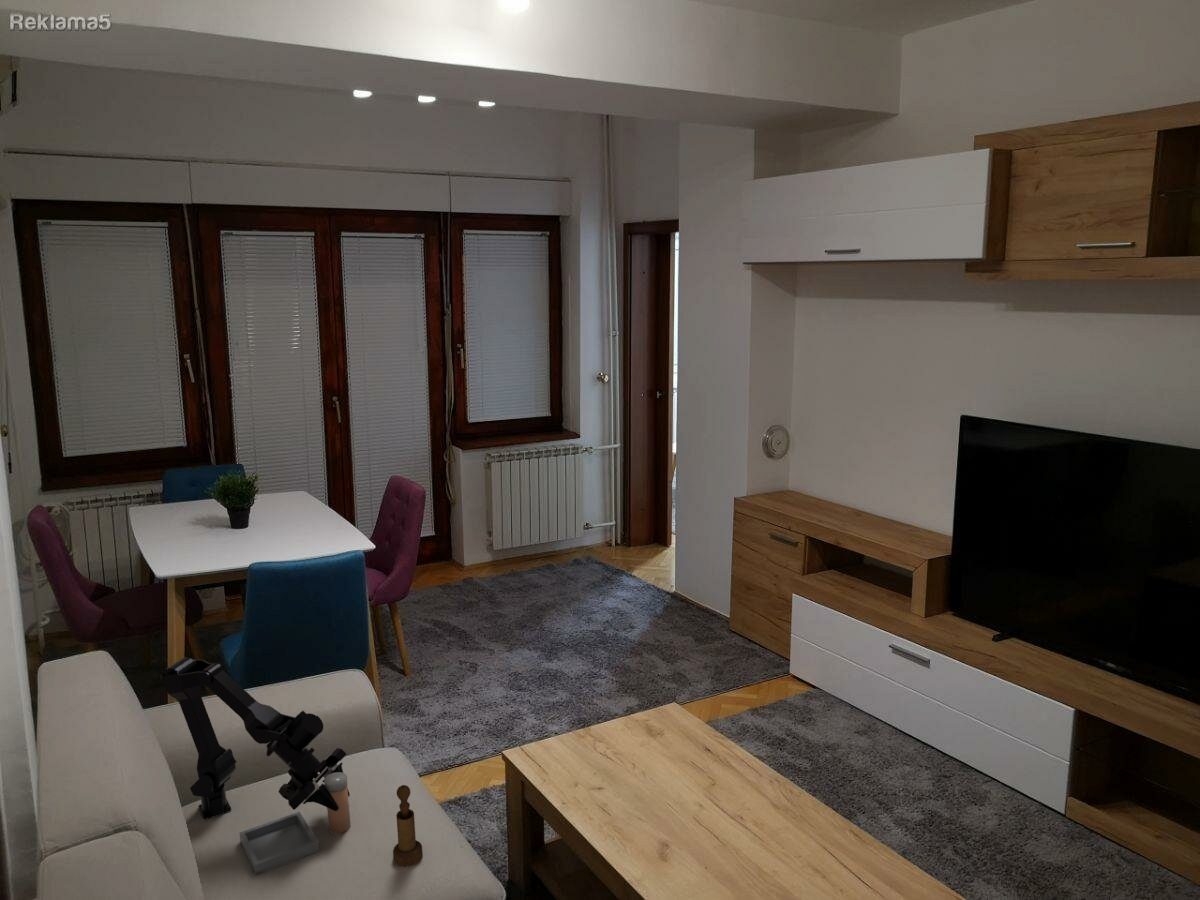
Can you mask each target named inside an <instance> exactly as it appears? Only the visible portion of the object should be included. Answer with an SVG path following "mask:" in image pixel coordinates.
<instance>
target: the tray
mask: <svg viewBox="0 0 1200 900" xmlns="http://www.w3.org/2000/svg"><path fill="white" fill-rule="evenodd" d="M238 833H239V840H240V844H241V846H242V848H243V851H244V850H245V851H244V853H245V855H246V857H247V859H248V861H249V863H250V866H251V867H252V870H253V872H254V874H255V875H259V874H262V873H265V872H268V871H270V870H273V869H275V868H279V867H281V866H283V865H286V864H288V863H291V862H294V861H296V860H298V859H299V860H300V859H301V858H304V857H307V856H310V855H312V854H314V853H317V852H319V842H318V839H317V838H316V836H315V835H314V833H313V831H312V829H311V828H310V826H309V825H308V823H307V822H306V820H305V819H304V816H303V815H302V812H300V811H297V812H294V813H291V814H289V815H286V816H282V817H279V818H277V819H275V820H272V821H268V822H266V823H263V824H259V825H258V826H254V827H251V828H248V829H246V830H242V831H240V832H238Z"/></svg>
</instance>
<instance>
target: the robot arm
mask: <svg viewBox="0 0 1200 900" xmlns="http://www.w3.org/2000/svg"><path fill="white" fill-rule="evenodd" d="M160 680H161V683H162V685H163V686H164V689H165V690H166V692H167V694H168V695H169V696H170V697H171V698H174V700H176V701H178V703H179V707H180V709H181V712H182V714H183V716H184V717H183V718H184V719H185V720H184V721H185V722H186V725H187V727H188V728H187V729H189V730H188V731H189V733H190V736H191V738H192V741H193V743H194V745H195V746H194V747H195V749H196V751H197V755H198V756H197V763H196V772H197V777H198V779H197V780H196V781H195V782H194V783H193V784H192V785H191V786H190V787H189V789H190V792H191V794H192V795H193V796H194V797H195V796H196V797H200V803H201V804H198V806H197V807H198V809H199V812H200V814H201V817H202V819H204V820H208V819H210V817H211V818H213V817H212V816H214V817H216V815H217V816H219V814H220V815H223V814H225V812H226V813H228V811H229V812H231V811H232V807H231V805H230V802H229V801H228V798H227V793H226V783H227V782H228V781H229V780H231V778H232V775H233V774H234V773H235V771H236V763H237V762H238V761H237V760H236V759H235V757H234V754H233V749H232V748H227V749H226V748H224V747H223V746H221V745H220V743H219V740H218V738H217V735H216V732H215V729H214V726H213V725H212V721H211V719H210V717H209V714H208V711H207V709H206V705H205V703H204V701H203V697H202V694H201V687H207V688H208V689H209V690H210V691H211V692H212V693H214V695H215V696H217V698H218V699H220V700H221V701H222V702H223V703H224V704H225V705H227V706H228V707H229V708H230V709H231V710H232V711H233V712H234V713H235V714H236V715H237V716H238V717H240V719H241V720H242V721H243V724H244V728H245V730H246V732H247V733H248V735H250V737H251V738H252V739H253V740H254V741H255V742H256V743H258V744H259V745H263V744H264V745H266V757H268V758H269V757H270V756H271V755H273V754H275V755H276V756H277V757H278V758H279V759H280V760H281V761H282V762H283V763H284V764H285V765H286V766H287V767H288V768H289V770H287V773H288V775H289V776H290V777H291V778H290V779H289V781H288V782H287V783H283V784H282V785H281V786H280V788H279V790H278V793H279V794H280V796H281V797H282V798H283V799H285V800H287V805H288V806H289V807H290V808H291V809H292V810H293V811H296V809H297V808H299V806H300V805H301V804H304V805H306V804H307V803H315V804H318V805H321V806H323V807H326V809H327V808H329V809H332V810H334V811H337V810H338V809H339V807H338V805H337V803H336V802H335V800H334V799H333V797H332V796H331V794H330V793H329V791H328V790H327V788H326V787H325V785H324V779H325V777H326V776H327V775H329V774H332V773H336V772H342V773H344V771H343V770H344V769H343V767H342V765H343V762H342V760H343V759H344V758H345V756H347V753H346V752H345V750H344V749H342V748H338V747H337V748H336V749H334V750H333V751H332V752H331V753H330V754H329V755H328V756H326V757H325V759H323V760H322V761H321V760H320V759H319V758H317V757H316V755H314V752H315V751H316V750H315V748H313V747H311V748H308V746H309V745H310V744H311V743H312V742H313V741H314V740H315V739H316V738H317V737H318V736H319V735H320V734H321V733H322V732H323V731H324V723H323V721H322V719H321V717H320V716H318V715H315V714H314V713H306V712H305V711H304V710H301V711H300V712H299V713H298V714H297V715H296V716H292V715H291V716H290V715H288V714H283V713H281V712H280V711H278V710H277V709H275V708H273V706H271V705H267V704H263V703H261V702H259V701H257V700H256V699H255V698H254V697H253V696H252V695H251V694H250V693H249V692H247V691H246V690H245V689H244V688H243V687H242V686H241V685H239V683H238V682H236V681H235V680H234V679H233V678H232V677H231V676H230V675H229V674H228V673H227V672H226V671H225V670H224V667H223V666H222V665H221V664H220V663H215V662H210V661H209V662H208V661H207V660H205V659H194V658H193V659H192V658H190V657H188V656H187V657H182V658H180V659H179V660H177V661H176V662H174V663H173V664H171V665H169V666H168V667H167V668H165V669H164V670H163V672H162V674H161V675H160ZM339 762H340V763H339ZM322 778H324V779H323V780H322ZM320 781H321V782H322V783H321V784H320V785H319V784H318V783H319V782H320ZM347 789H348V786H347ZM350 796H351V794H350V791H349V789H348V798H349V797H350ZM230 810H231V811H230ZM222 813H223V814H222ZM207 818H208V819H207Z"/></svg>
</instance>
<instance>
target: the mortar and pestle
mask: <svg viewBox="0 0 1200 900" xmlns="http://www.w3.org/2000/svg"><path fill="white" fill-rule="evenodd" d="M396 796H397V798H398V800H400V804H399V805H398V806H399V811H397V812H396V828H397V829H396V831H397V844H395V845H394V847H393V849H392V856H393V862H394V864H395V865H397V866H399V867H402V866H403V867H404V868H405V867H407V866H408V867H412V866H415V865H416V864H418V863H419V862H420V861H421V860H422V859H423V856H424V855H423V845H422V844H421V842H420V841H419V840H417V839H416V822H415V812H414V811H413V809H410V806H411V804H410V802H409V801H408V800H409V798H410V796H411V789H410V787H409V786H408V785H406V784H402V785H400V786H398V788H397V790H396ZM403 867H402V868H403ZM408 867H407V868H408Z"/></svg>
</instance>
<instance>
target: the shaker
mask: <svg viewBox="0 0 1200 900" xmlns="http://www.w3.org/2000/svg"><path fill="white" fill-rule="evenodd" d="M323 780H324V782H323V784H324V785H325V787H326V788H327V790H328V791H329V793H330V794H331V796H332V797H333V799H334V800H335V802H336V803H337V805H338V807H339V809H338V810H337V811H334V810H332V809H329V808H327V807H326V812H327V823H328V831H329V832H330V831H331V832H330V833H332V834H336V835H337V834H342V833H345V832H347V831H348V830H350V828H351V823H352V822H351V814H350V803H349V797H348V790H349V789H347V787H348V775H347V774H346V773H345V772H343V773H342V772H336V773H332V774H329V775H327V776H326V777H325V778H324V779H323Z"/></svg>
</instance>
